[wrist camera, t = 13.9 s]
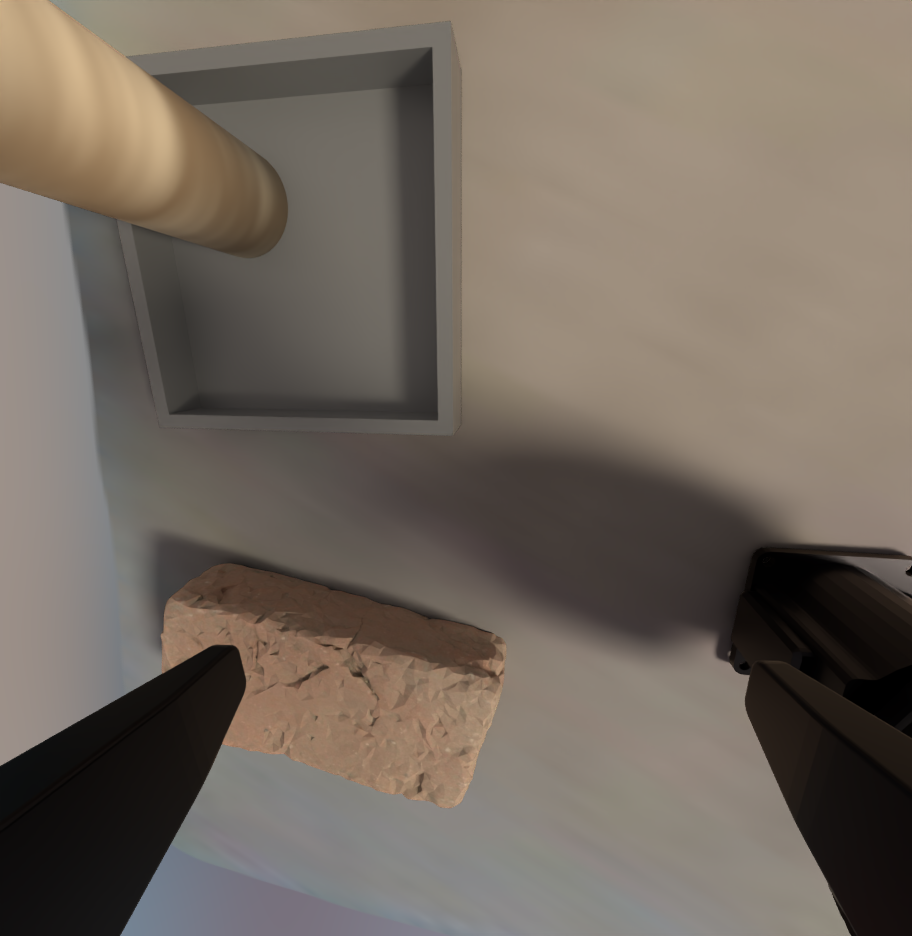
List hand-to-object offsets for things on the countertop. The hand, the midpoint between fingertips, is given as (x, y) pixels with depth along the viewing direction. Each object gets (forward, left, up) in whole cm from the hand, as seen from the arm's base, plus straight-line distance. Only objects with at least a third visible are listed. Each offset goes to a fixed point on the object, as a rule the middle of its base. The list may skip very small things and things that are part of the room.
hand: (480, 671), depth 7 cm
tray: (+9, -9, -13) cm, 18 cm away
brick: (+8, +11, -13) cm, 19 cm away
